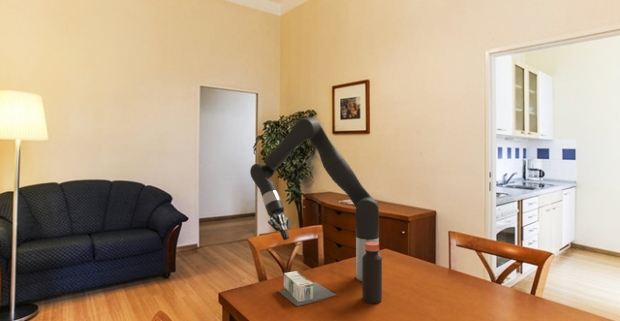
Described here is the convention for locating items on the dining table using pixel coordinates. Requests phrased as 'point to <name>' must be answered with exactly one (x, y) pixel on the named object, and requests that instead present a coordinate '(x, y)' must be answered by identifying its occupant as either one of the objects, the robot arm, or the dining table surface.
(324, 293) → the slate mat
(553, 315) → the dining table surface
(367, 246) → the bottle
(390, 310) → the dining table surface
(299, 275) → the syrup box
